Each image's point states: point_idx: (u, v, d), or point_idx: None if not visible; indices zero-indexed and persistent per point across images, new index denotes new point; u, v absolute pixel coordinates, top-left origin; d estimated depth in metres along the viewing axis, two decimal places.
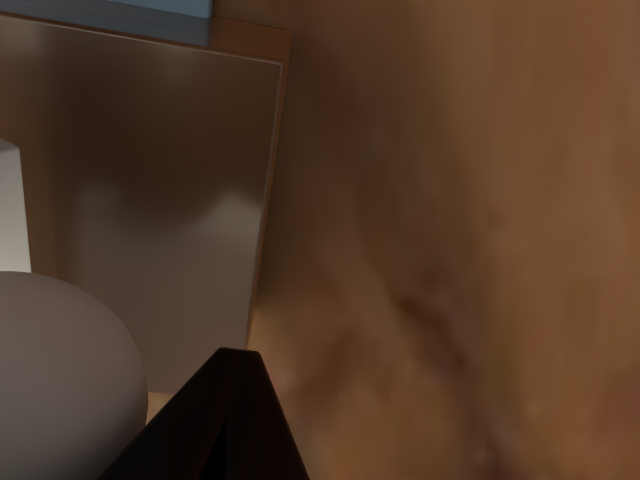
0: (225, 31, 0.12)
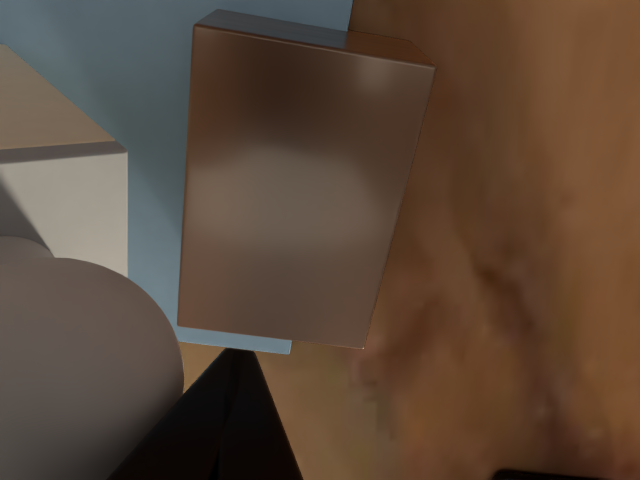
0: (372, 42, 0.15)
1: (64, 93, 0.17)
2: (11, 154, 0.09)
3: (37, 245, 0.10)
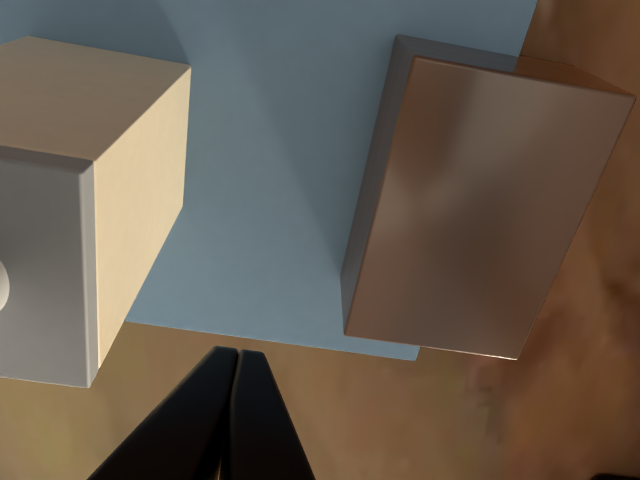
0: (555, 70, 0.16)
1: (239, 111, 0.18)
2: None
3: None
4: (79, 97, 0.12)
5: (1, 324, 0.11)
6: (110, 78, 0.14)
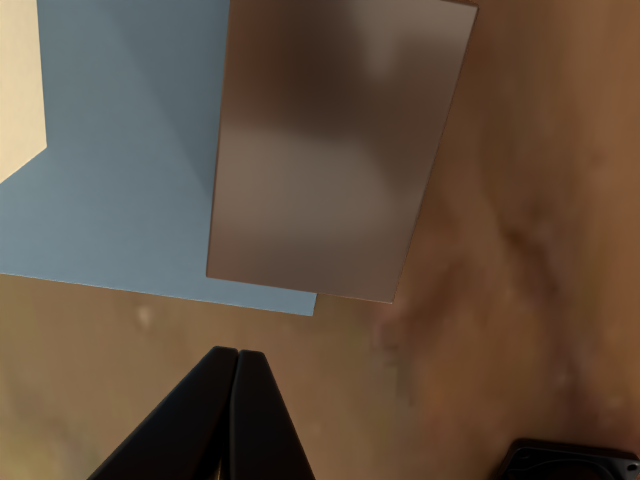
0: None
1: (94, 40, 0.17)
2: None
3: None
4: None
5: None
6: None
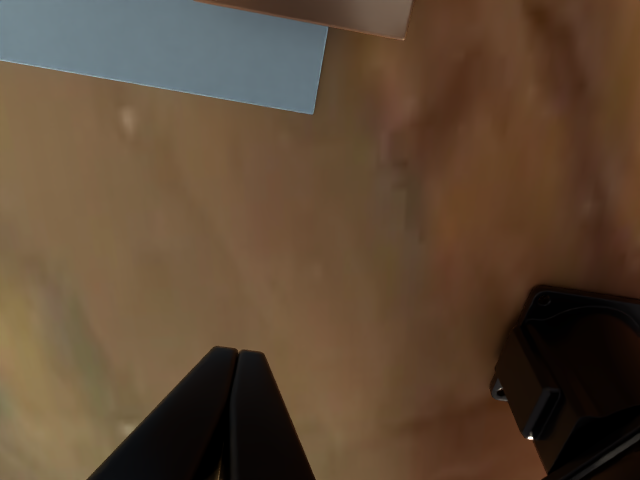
0: None
1: None
2: None
3: None
4: None
5: None
6: None
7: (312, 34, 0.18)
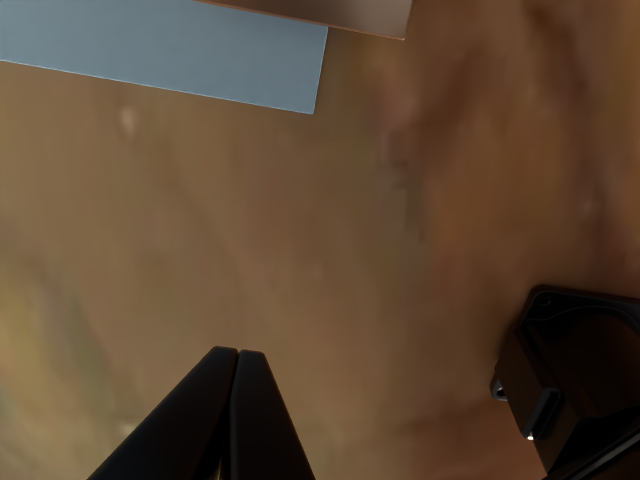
0: None
1: None
2: None
3: None
4: None
5: None
6: None
7: (312, 34, 0.18)
